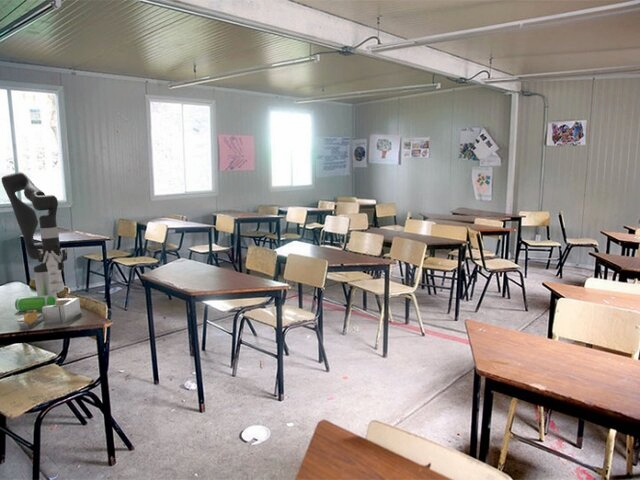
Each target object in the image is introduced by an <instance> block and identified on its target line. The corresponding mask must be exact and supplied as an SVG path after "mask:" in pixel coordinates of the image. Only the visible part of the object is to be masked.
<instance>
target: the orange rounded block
mask: <svg viewBox="0 0 640 480" xmlns="http://www.w3.org/2000/svg"><path fill="white" fill-rule="evenodd" d="M25 312H26V313H24V314H23V316H22V317H24V321H23V323H26V322H29V325H30V324H31V323H33V322H35V321H36V320H38V317H37V314H38V311H37V310H27V311H25Z"/></svg>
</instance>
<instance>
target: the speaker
mask: <svg viewBox="0 0 640 480" xmlns="http://www.w3.org/2000/svg"><path fill="white" fill-rule="evenodd" d="M51 305H56V302H55V298H54V297H53V296H48V295H47V296H37V295H34V296H33V295H31V296H21V297H17V298H16V300H15V302H14V307H15V309H16V311H19V312H26V311H27V310H37V312H38V311H42V307H44V306H51Z"/></svg>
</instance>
